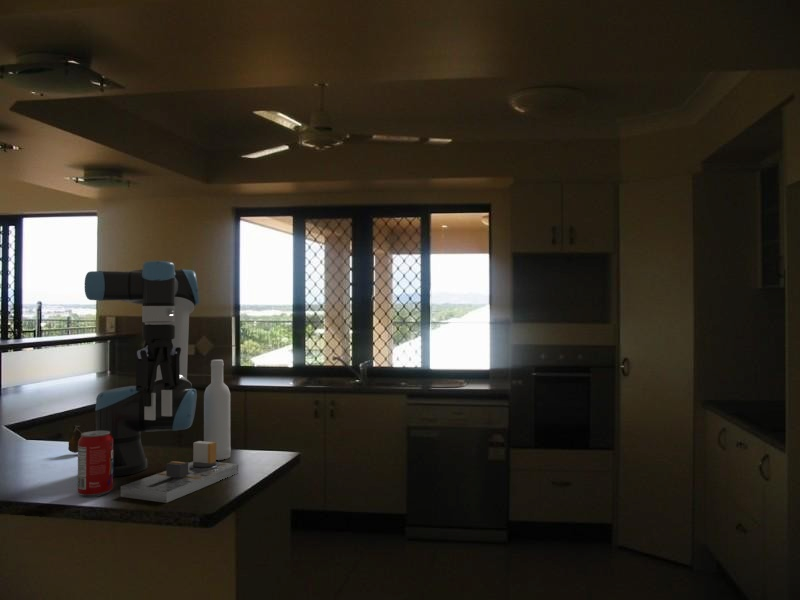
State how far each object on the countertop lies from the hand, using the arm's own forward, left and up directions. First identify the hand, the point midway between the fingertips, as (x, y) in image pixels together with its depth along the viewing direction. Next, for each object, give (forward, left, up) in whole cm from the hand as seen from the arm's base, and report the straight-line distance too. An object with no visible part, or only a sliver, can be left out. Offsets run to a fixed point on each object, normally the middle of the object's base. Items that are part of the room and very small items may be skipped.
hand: (158, 417), depth 152 cm
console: (0, +9, -19) cm, 21 cm away
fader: (0, +7, -19) cm, 20 cm away
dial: (0, +18, -16) cm, 24 cm away
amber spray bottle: (-56, +25, -19) cm, 64 cm away
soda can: (-15, -5, -19) cm, 25 cm away
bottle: (-10, +36, -19) cm, 42 cm away
